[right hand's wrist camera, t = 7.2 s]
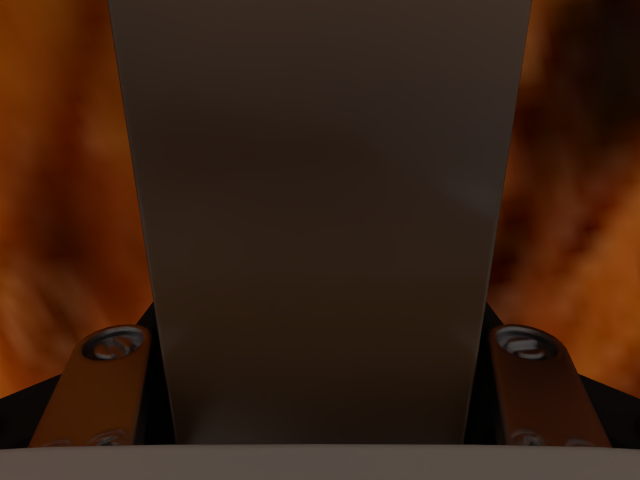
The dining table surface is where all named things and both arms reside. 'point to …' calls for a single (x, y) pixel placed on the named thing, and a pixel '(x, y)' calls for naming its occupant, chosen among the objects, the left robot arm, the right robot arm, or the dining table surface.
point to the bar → (319, 208)
